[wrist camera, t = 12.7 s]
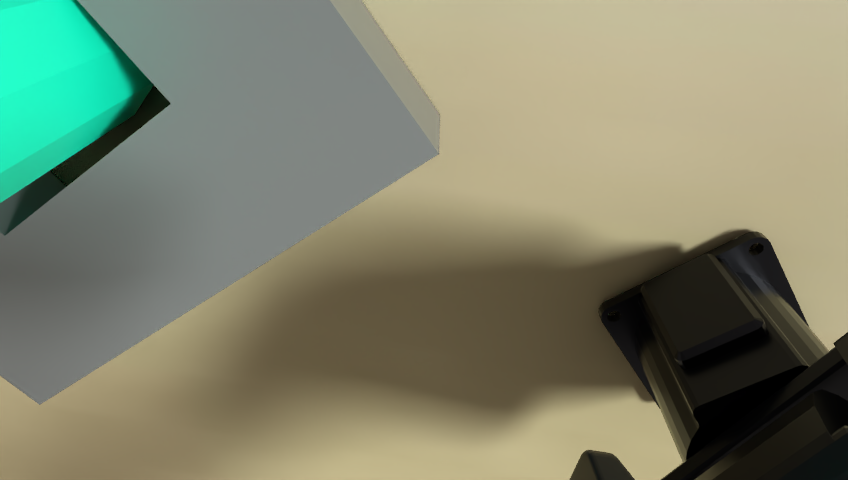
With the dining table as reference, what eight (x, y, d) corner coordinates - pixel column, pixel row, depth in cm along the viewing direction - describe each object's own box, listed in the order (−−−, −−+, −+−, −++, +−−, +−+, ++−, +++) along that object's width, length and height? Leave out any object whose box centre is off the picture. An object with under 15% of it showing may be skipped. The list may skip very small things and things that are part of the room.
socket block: (439, 114, 19) (439, 153, 16) (89, 343, 25) (39, 404, 22) (-38, -582, 12) (-199, -743, 9) (-381, -43, 18) (-552, -32, 15)
